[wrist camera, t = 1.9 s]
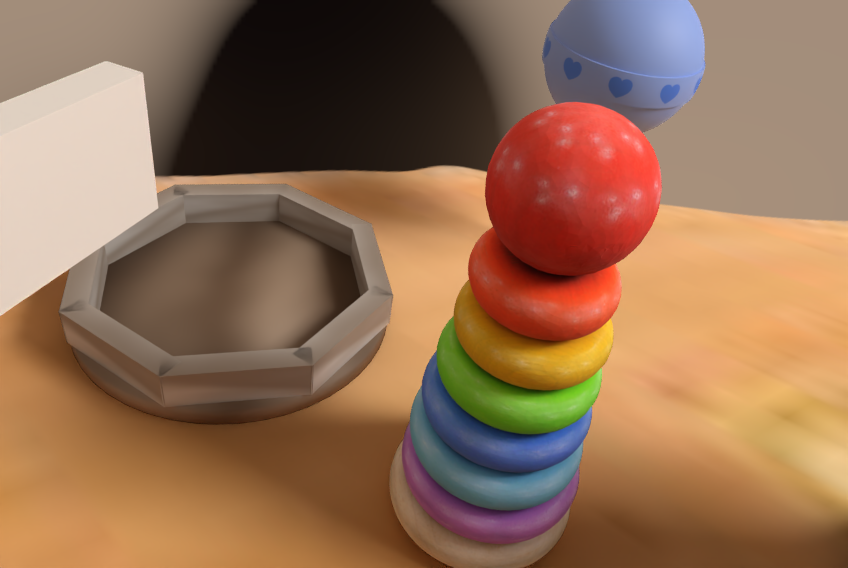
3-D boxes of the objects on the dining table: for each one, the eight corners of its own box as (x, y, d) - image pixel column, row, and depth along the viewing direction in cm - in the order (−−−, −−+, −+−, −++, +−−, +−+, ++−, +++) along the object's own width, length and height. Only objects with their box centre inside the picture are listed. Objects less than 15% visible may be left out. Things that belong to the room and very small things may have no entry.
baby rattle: (648, 273, 46) (764, -3, 35) (565, 318, 41) (669, 13, 30) (554, 211, 51) (630, -50, 40) (469, 245, 46) (529, -42, 35)
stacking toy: (362, 450, 32) (408, 54, 20) (510, 412, 35) (624, 48, 23) (429, 610, 26) (544, 194, 15) (598, 548, 29) (803, 162, 18)
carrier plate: (362, 217, 47) (365, 179, 45) (416, 406, 34) (424, 364, 33) (91, 223, 43) (83, 181, 41) (40, 441, 30) (24, 395, 28)
